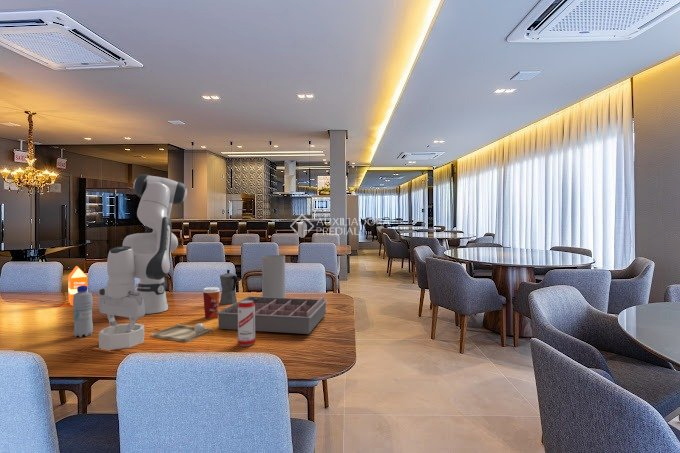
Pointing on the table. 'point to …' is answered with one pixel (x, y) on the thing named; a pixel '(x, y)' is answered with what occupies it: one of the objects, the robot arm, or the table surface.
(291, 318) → the organizer tray
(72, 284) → the orange juice
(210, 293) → the paper cup
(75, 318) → the bottle
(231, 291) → the coffeepot
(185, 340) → the oak tray
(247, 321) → the beer can
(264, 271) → the cylinder vase
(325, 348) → the table surface
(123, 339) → the ceramic bowl
